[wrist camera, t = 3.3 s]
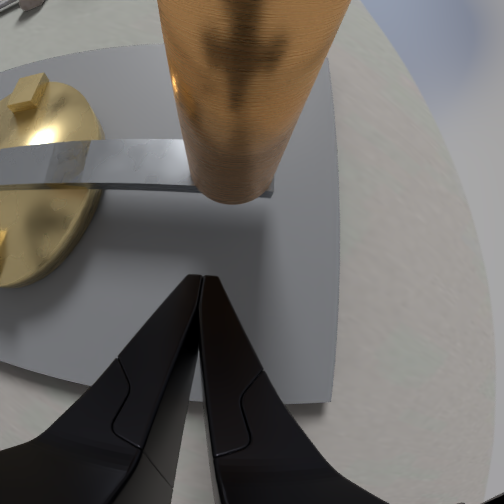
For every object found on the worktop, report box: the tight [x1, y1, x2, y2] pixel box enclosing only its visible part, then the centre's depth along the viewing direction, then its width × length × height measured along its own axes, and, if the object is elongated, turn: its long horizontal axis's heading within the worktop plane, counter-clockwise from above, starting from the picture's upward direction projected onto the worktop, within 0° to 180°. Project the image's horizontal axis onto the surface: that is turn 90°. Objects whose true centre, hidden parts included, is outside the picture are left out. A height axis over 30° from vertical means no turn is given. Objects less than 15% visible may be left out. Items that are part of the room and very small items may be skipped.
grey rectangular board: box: [0, 44, 340, 404], centre depth 17 cm, size 34×24×2 cm
